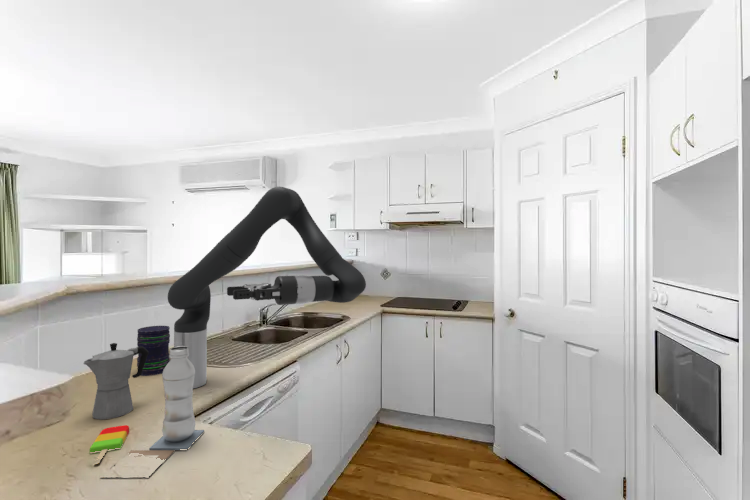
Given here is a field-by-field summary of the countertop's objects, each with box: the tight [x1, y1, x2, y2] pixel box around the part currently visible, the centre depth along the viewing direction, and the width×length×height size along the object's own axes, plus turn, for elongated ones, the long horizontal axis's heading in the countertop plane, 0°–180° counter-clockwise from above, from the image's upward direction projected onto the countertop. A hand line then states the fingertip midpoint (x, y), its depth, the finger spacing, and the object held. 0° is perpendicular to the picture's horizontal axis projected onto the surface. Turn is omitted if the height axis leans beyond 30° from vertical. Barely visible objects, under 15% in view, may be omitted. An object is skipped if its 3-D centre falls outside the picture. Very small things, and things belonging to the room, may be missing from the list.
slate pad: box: [148, 429, 205, 450], centre depth 83 cm, size 8×8×1 cm
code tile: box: [128, 449, 175, 460], centre depth 74 cm, size 9×9×1 cm
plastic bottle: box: [161, 346, 196, 442], centre depth 83 cm, size 6×7×20 cm
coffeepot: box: [83, 342, 148, 421], centre depth 99 cm, size 15×9×18 cm, turn 150°
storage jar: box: [136, 325, 171, 377], centre depth 131 cm, size 10×10×15 cm
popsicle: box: [89, 424, 130, 461], centre depth 80 cm, size 6×15×2 cm, turn 22°
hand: (230, 293), depth 91 cm, fingers open, 8 cm apart
